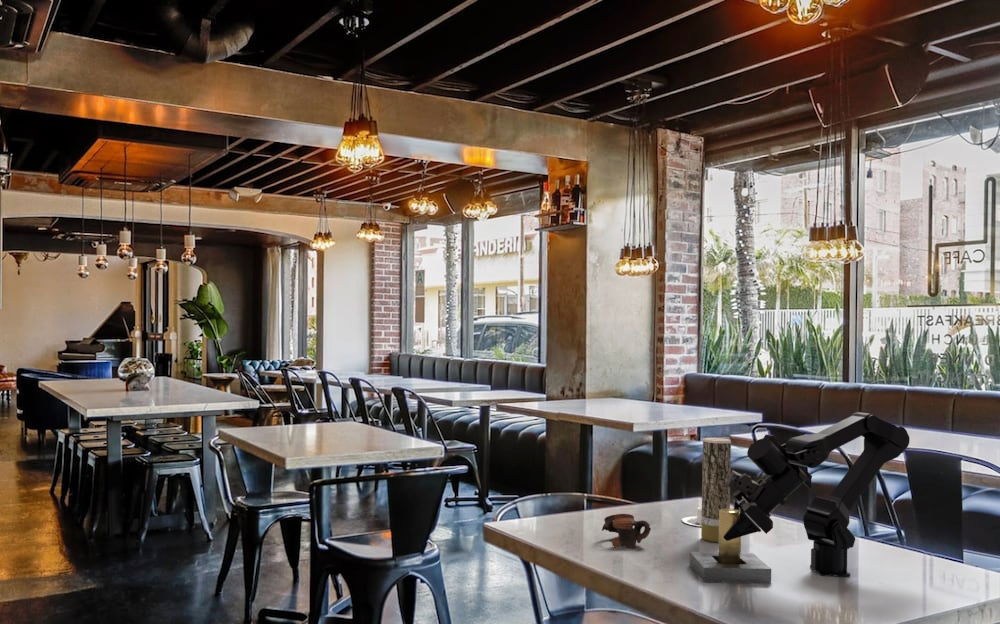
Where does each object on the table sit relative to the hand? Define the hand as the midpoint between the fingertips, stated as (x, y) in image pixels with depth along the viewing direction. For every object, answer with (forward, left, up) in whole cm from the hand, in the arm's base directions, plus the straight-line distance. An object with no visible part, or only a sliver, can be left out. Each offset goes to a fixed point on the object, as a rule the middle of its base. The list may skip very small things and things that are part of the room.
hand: (723, 536), depth 176 cm
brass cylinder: (-1, 0, -7) cm, 7 cm away
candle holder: (-8, -47, -9) cm, 48 cm away
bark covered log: (-6, -29, -8) cm, 31 cm away
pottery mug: (+17, -23, -8) cm, 30 cm away
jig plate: (-1, 0, -8) cm, 8 cm away
